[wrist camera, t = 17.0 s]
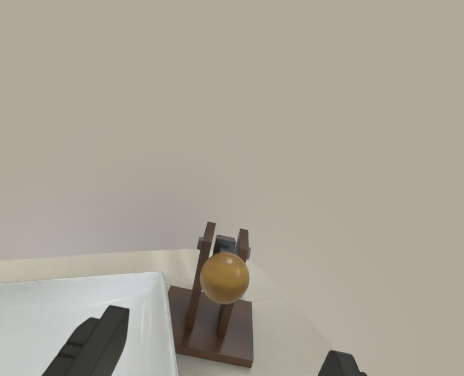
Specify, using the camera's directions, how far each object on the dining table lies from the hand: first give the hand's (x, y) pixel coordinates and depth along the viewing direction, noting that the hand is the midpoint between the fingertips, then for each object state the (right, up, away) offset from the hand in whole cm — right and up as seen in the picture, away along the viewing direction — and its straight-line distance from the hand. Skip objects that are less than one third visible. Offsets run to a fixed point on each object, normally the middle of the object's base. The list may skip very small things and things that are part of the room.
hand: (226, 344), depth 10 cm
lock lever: (-1, -2, +14) cm, 14 cm away
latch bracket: (-3, -12, +24) cm, 27 cm away
